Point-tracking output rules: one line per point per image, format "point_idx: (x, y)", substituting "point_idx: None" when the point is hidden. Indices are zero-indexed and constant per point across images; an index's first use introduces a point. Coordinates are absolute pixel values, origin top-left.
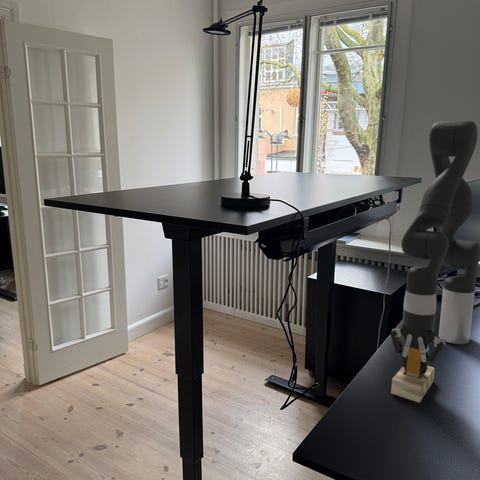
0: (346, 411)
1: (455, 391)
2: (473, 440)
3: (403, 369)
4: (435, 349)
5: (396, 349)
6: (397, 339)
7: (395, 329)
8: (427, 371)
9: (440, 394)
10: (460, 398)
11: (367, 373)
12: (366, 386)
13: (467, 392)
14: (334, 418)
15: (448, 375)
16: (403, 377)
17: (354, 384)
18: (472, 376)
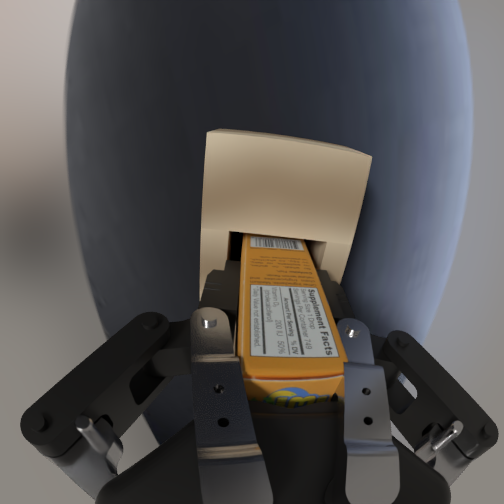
0: (158, 404)
1: (419, 193)
2: (401, 382)
3: (214, 265)
4: (410, 440)
5: (146, 374)
6: (119, 425)
7: (56, 464)
8: (337, 223)
9: (370, 242)
10: (427, 236)
11: (88, 223)
12: (129, 309)
13: (451, 182)
14: (156, 419)
15: (394, 59)
16: (235, 334)
17: (101, 312)
18: (461, 47)
